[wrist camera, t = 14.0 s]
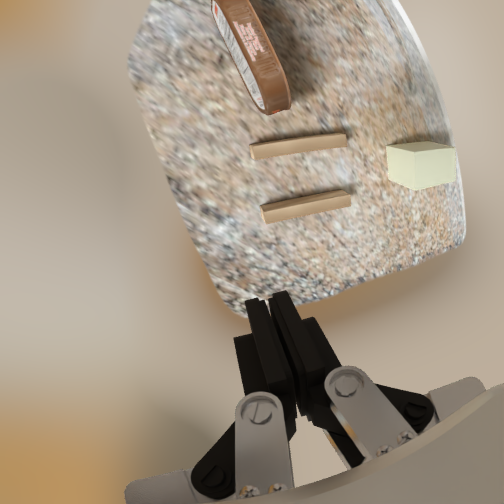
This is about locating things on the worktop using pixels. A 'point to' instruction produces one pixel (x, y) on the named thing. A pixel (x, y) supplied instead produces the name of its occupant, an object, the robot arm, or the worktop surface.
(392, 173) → the block
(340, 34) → the worktop surface
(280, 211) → the chute
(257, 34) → the tin
